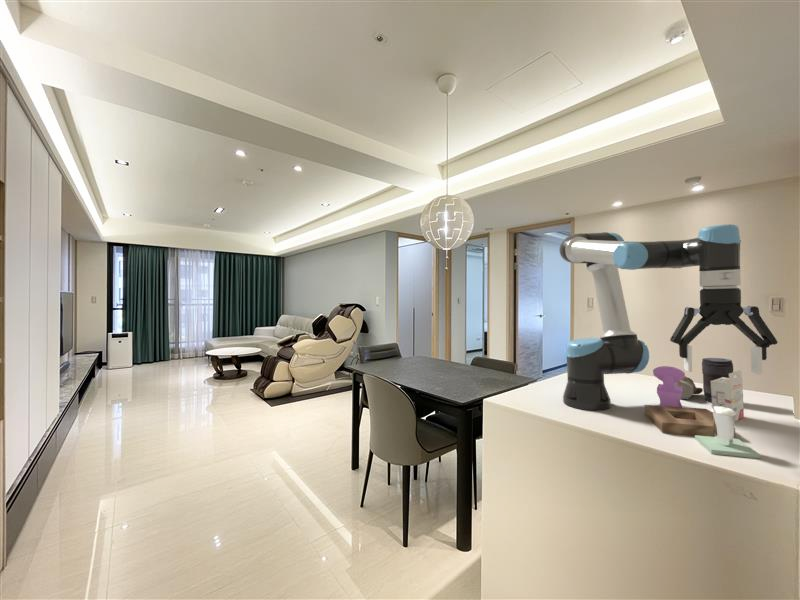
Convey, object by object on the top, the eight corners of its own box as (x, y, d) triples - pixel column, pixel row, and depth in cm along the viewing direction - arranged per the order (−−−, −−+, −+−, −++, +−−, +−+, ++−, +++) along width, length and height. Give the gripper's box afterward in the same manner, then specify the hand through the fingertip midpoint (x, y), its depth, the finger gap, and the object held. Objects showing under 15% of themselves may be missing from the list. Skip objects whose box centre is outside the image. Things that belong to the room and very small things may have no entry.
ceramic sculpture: (660, 374, 127) (668, 369, 137) (660, 397, 127) (669, 391, 137) (697, 378, 119) (704, 373, 129) (698, 403, 119) (704, 396, 129)
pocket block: (662, 432, 96) (662, 422, 96) (644, 413, 111) (644, 404, 111) (735, 439, 90) (734, 427, 90) (706, 418, 105) (706, 408, 105)
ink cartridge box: (723, 413, 109) (721, 367, 109) (744, 417, 105) (742, 370, 104) (711, 418, 105) (709, 370, 105) (732, 423, 101) (730, 373, 101)
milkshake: (704, 440, 88) (702, 402, 88) (722, 439, 88) (721, 400, 88) (722, 448, 83) (721, 407, 83) (742, 446, 84) (740, 406, 84)
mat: (711, 453, 83) (711, 449, 83) (695, 438, 91) (694, 435, 91) (760, 458, 80) (759, 454, 80) (738, 442, 88) (738, 439, 88)
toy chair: (687, 408, 115) (685, 364, 115) (685, 415, 108) (684, 368, 108) (656, 403, 120) (654, 361, 120) (653, 410, 114) (651, 366, 114)
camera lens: (721, 398, 123) (719, 357, 123) (741, 405, 115) (739, 361, 115) (697, 398, 124) (695, 357, 124) (715, 405, 116) (713, 361, 116)
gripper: (664, 289, 86) (666, 372, 87) (797, 285, 77) (799, 378, 78) (654, 289, 93) (656, 366, 94) (775, 285, 84) (777, 370, 85)
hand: (721, 371), depth 86 cm, fingers open, 13 cm apart
